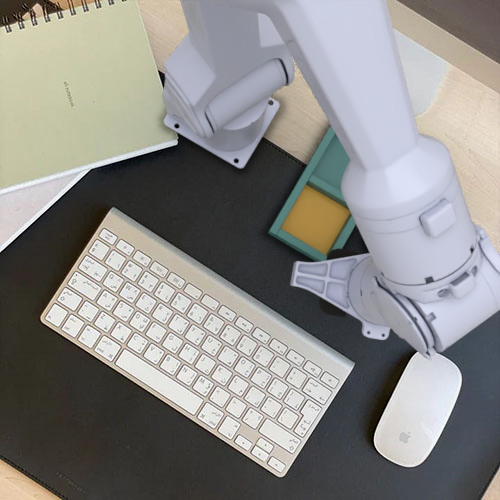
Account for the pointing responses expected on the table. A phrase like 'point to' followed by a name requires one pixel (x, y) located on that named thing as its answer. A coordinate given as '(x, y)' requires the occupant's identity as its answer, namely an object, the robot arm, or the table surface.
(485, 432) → the table surface
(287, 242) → the teal divided tray
